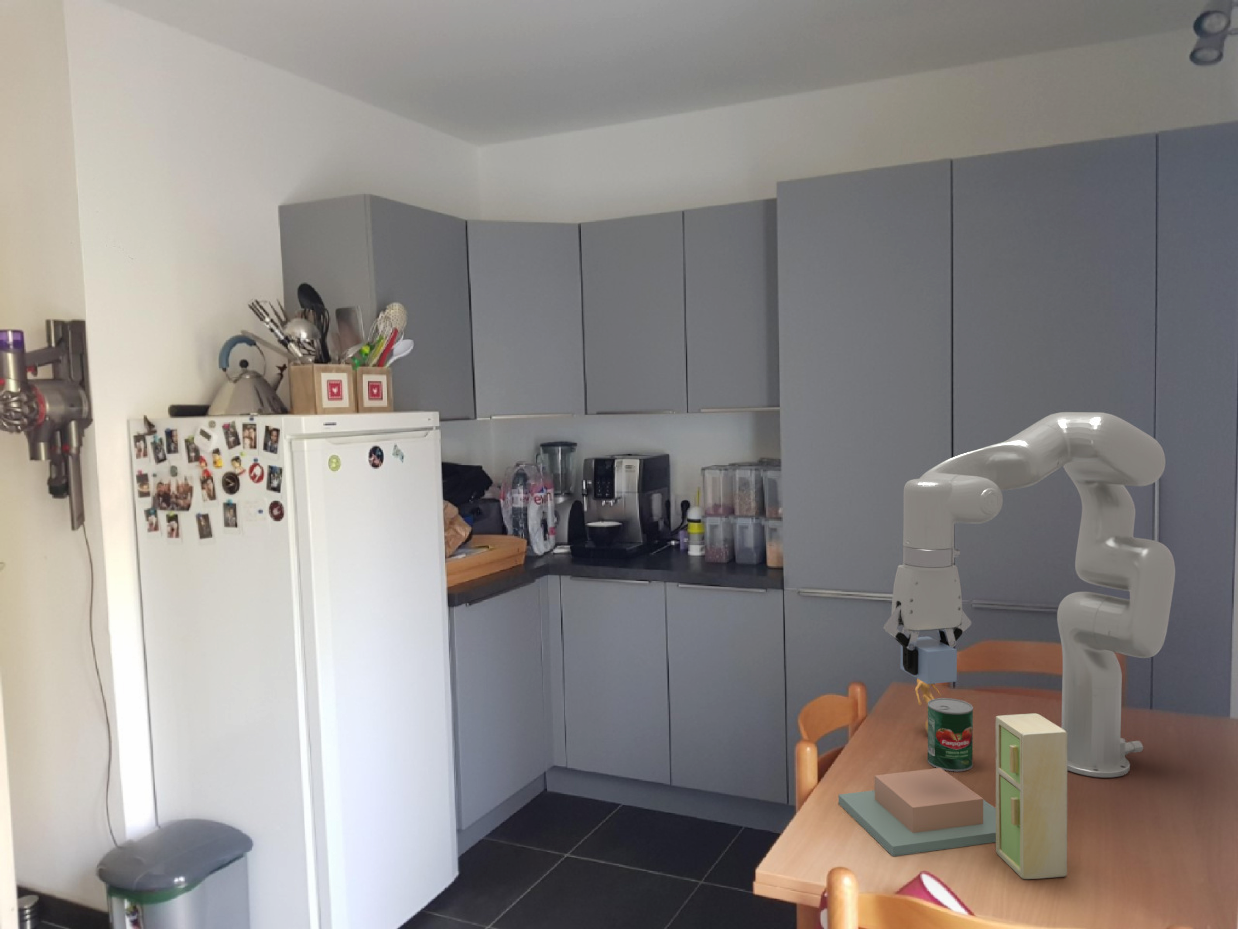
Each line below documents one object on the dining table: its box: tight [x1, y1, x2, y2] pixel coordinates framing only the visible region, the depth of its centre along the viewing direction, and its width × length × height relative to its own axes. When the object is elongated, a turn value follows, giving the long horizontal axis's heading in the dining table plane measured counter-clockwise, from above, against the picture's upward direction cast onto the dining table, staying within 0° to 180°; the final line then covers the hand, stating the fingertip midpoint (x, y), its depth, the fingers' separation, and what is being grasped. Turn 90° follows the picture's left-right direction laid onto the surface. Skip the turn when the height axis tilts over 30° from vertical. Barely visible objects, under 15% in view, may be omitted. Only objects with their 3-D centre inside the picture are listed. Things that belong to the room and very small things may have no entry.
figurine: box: [914, 678, 942, 733], centre depth 179 cm, size 8×6×12 cm
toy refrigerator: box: [995, 712, 1068, 880], centre depth 130 cm, size 8×7×21 cm
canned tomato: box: [927, 697, 974, 772], centre depth 166 cm, size 8×8×11 cm
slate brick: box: [899, 635, 958, 685], centre depth 142 cm, size 5×8×5 cm, turn 12°
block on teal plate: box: [838, 767, 996, 857], centre depth 144 cm, size 22×18×6 cm
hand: (927, 670), depth 143 cm, fingers closed on slate brick, 4 cm apart
